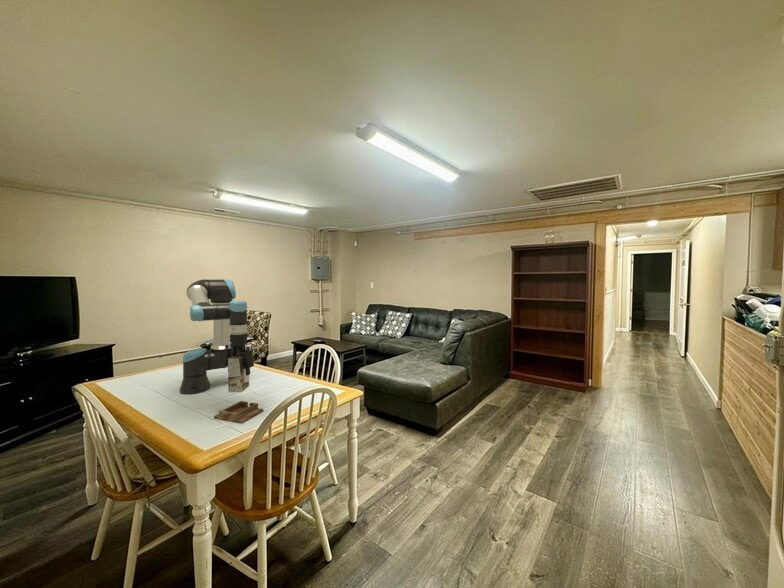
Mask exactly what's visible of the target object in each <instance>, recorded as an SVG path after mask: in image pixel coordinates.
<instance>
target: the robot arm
mask: <svg viewBox="0 0 784 588" xmlns="http://www.w3.org/2000/svg"><path fill="white" fill-rule="evenodd" d="M236 296H237V293H236V286H235V283H234V282H233V280H231V279H223V278H222V279H218V278H217V279H198V280H196V281H194V282H192V283H191V284H190V285H189V286H188V287H187V289H186V297H187V299H189V300H190V302H191V305H190V307H189V318H190V321H191V322H206V321H213V323H212V324H213V326H212V327H213V329H212V330H213V332H212V333H213V343H212V345H211V346H210V349H209V350H207V348H203V347H201V348H196V349H195V348H194V349H190V350H188V351H186V352H185V353H183V355H182V369H183V370H182V377H183V378H182V381H181V384H180V386H179V393H180V394H182V395H192V394H193V395H195V394H200V393H203V392H206V391H208V390H209V389H211V383H210V380H209V378H208V374H207V372H208V371H212V370H219V369H220V370H221V369H228V358H230V357H232V356H235V355H237V354H239V355H240V356H241V357H243V360H244V366H245V368H244V383H246V382H248V381H249V382H250V375H251V368H253V367H254V366H255V364H254V357H253V346H252V345H248V344H247V341H248V304H247V301H246V300H235V299H236ZM247 365H248V366H247Z"/></svg>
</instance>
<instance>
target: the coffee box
mask: <svg viewBox="0 0 784 588" xmlns="http://www.w3.org/2000/svg"><path fill="white" fill-rule="evenodd" d="M247 366H248V365H247ZM244 368H245V366H244V360H243V357H241V356H240V355H239V353H237V355H235V356H232V357H230V358H228V367H227V380H228V381H227V382H228V383H227V386H228V387H227V388H228V389H227V390H228V393H243V392H244V391H245V390H247V389H248V388H249V387H250V380H249V381H248V382H246V383H244Z"/></svg>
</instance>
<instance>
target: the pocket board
mask: <svg viewBox="0 0 784 588" xmlns="http://www.w3.org/2000/svg"><path fill="white" fill-rule="evenodd" d="M218 412H219V413H217V414H215V415H214V416H213V419H215V420H218V421H219V420H220V421H225V422H230V423H235V424H240V425H242V424H244V423H246V422H247V421H249V420H252V419H253V418H254V417H256V416H258V415H260V414H261V413H263V412H264V409H263V408H259V403H256V402H248V401H245V400H244V401H243V400H240V401H238V402H236V403H234V404H232V405H230V406H228V407H226V408H224V409H221V410H219V411H218Z"/></svg>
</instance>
